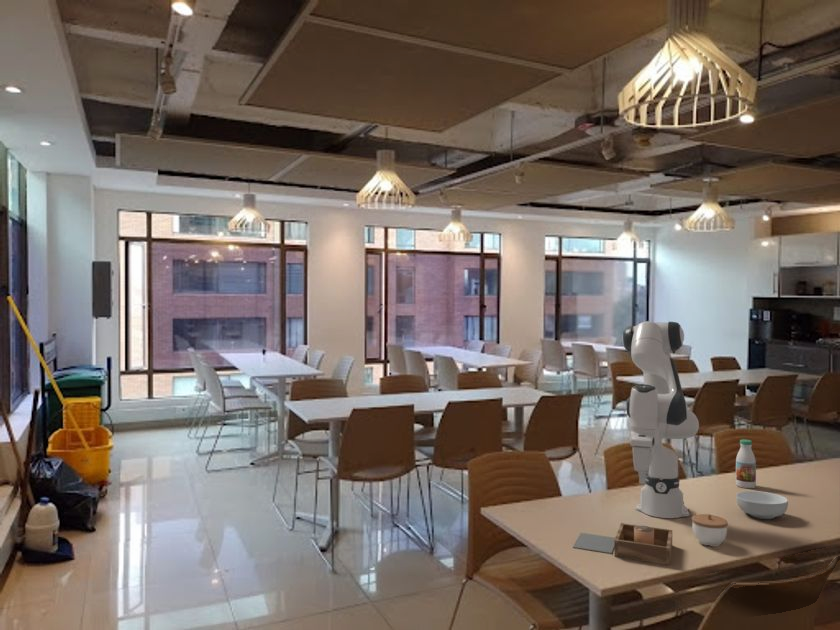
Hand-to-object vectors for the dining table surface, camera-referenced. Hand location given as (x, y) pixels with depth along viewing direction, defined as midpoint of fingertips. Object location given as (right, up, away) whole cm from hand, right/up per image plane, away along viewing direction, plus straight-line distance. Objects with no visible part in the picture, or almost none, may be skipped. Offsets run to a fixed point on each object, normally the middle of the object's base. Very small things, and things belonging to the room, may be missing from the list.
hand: (644, 480), depth 198 cm
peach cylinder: (0, -23, 0) cm, 23 cm away
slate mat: (-14, -22, +6) cm, 27 cm away
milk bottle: (+70, -22, +73) cm, 103 cm away
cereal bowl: (+56, -23, +34) cm, 69 cm away
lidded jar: (+24, -23, +7) cm, 34 cm away
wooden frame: (0, -23, 0) cm, 23 cm away
